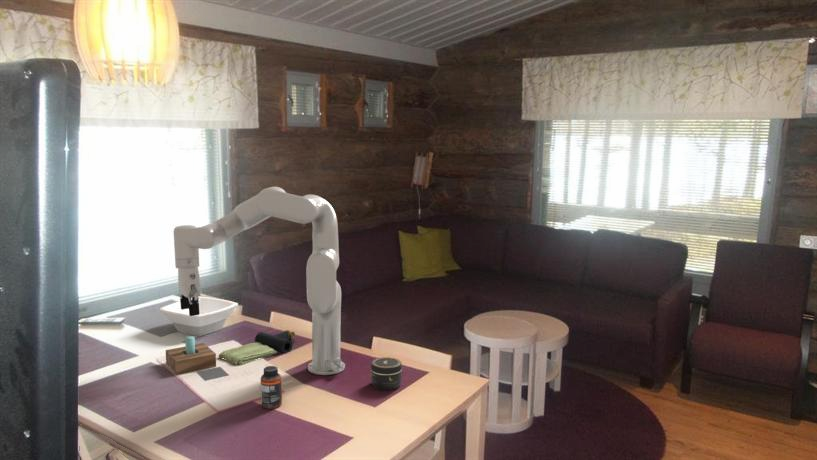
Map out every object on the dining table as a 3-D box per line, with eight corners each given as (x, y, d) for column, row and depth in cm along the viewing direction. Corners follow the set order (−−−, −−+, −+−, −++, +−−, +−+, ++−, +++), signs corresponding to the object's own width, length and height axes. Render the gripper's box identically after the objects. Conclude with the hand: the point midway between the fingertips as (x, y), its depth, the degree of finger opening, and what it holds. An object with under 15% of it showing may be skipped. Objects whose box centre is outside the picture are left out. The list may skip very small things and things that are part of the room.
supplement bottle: (273, 399, 173) (272, 362, 172) (286, 404, 170) (285, 367, 168) (256, 405, 169) (256, 368, 167) (269, 411, 165) (268, 373, 163)
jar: (376, 393, 179) (376, 369, 178) (366, 381, 188) (366, 358, 187) (406, 388, 182) (406, 365, 181) (395, 377, 192) (395, 355, 190)
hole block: (216, 367, 197) (215, 353, 196) (176, 375, 189) (176, 361, 189) (204, 356, 207) (203, 343, 207) (166, 363, 200) (165, 350, 199)
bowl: (199, 318, 254) (199, 295, 253) (244, 326, 243) (243, 302, 242) (154, 333, 233) (153, 308, 231) (200, 343, 222) (199, 317, 220)
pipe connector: (277, 325, 228) (304, 333, 220) (278, 338, 229) (305, 346, 220) (254, 333, 219) (282, 341, 210) (255, 347, 220) (282, 355, 211)
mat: (229, 376, 190) (229, 375, 190) (204, 381, 185) (204, 380, 185) (220, 367, 197) (220, 366, 197) (196, 372, 192) (196, 371, 192)
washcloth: (279, 355, 211) (279, 346, 211) (238, 368, 198) (237, 359, 197) (257, 347, 220) (257, 339, 219) (216, 359, 206) (216, 351, 205)
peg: (196, 366, 198) (195, 338, 197) (187, 368, 196) (186, 339, 195) (194, 363, 200) (193, 335, 199) (185, 365, 199) (184, 337, 197)
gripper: (206, 265, 189) (209, 315, 191) (191, 257, 203) (193, 304, 205) (183, 268, 184) (186, 319, 187) (168, 259, 198) (171, 308, 200)
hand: (190, 311), depth 196 cm, fingers open, 9 cm apart
